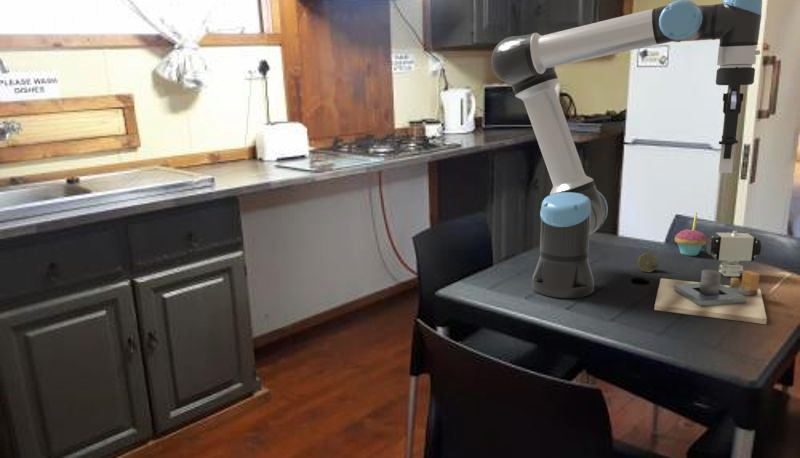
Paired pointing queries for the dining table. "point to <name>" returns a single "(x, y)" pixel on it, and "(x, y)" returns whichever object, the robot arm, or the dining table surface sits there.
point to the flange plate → (722, 291)
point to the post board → (709, 286)
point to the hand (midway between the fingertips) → (725, 172)
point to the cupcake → (690, 240)
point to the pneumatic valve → (733, 251)
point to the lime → (647, 262)
